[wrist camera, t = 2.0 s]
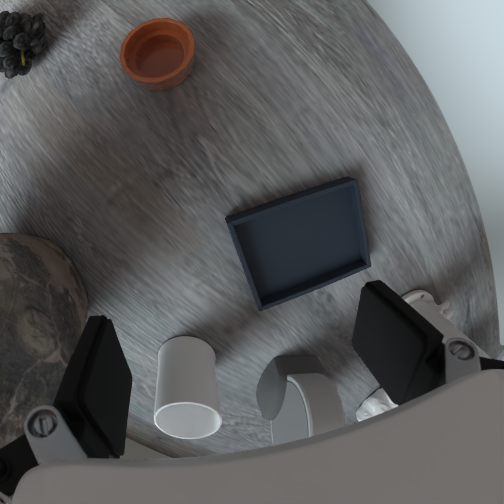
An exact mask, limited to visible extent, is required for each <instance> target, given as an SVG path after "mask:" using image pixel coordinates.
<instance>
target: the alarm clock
mask: <svg viewBox="0 0 504 504" xmlns="http://www.w3.org/2000/svg"><path fill="white" fill-rule="evenodd" d="M257 402H258V405H259V407H260V410H261V413H262V415H263V418H264V419H266V420H271V434H272V441H273V446H274V445H279V444H283V443H287V442H292V441H296V440H300V439H304V438H308V437H311V436H315V435H319V434H322V433H325V432H329V431H332V430H335V429H338V428H342V427H345V414H344V409H343V405H342V401H341V398H340V396H339V394H338V391H337V389H336V388H335V386H334V385H333V383H332V382H331V381H330V379H328V378H327V377H326V376H324V375H323V371H322V369H321V366H320V364H319V361H318V359H317V357H316V356H279V357H275V358H274V359H273V360H272V361H271V362H270V363H269V364H268V366H267V367H266V369H265V370H264V372H263V374H262V375H261V378H260V380H259V383H258V387H257Z"/></svg>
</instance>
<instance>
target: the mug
mask: <svg viewBox="0 0 504 504" xmlns="http://www.w3.org/2000/svg"><path fill="white" fill-rule="evenodd" d="M158 362H159V364H158V374H157V384H156V395H155V408H154V422H155V424H156V426H157V427H158V428H159V429H160V430H161V431H163V432H164V433H166V434H168V435H171V436H174V437H178V438H184V439H196V438H202V437H206V436H209V435H211V434H213V433H214V432H216V431H217V430H218V429H219V428H220V426H221V424H222V417H221V410H220V402H219V395H218V387H217V379H216V371H215V362H216V356H215V353H214V351H213V349H212V348H211V346H210V345H209V344H207V343H206V342H205V341H203V340H201V339H198V338H195V337H190V336H180V337H175V338H172V339H170V340H168V341H166V342H165V343H164V344H163V345H162V346H161V348H160V349H159V352H158Z"/></svg>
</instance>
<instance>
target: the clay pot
mask: <svg viewBox="0 0 504 504" xmlns="http://www.w3.org/2000/svg"><path fill="white" fill-rule="evenodd" d="M87 308H88V298H87V294H86V290H85V286H84V285H83V282H82V280H81V278H80V276H79V274H78V271H77V269H76V267H75V266H74V264H73V263H72V261H71V260H70V259H69V257H68V256H67V255H66V253H65V252H64V251H63V249H61V248H60V247H59V246H57V245H55V244H54V243H53V242H51V241H50V240H48V239H45V238H41V237H37V236H32V235H30V234H18V233H0V448H2V447H4V446H5V445H7V444H9V443H10V442H12V441H14V440H15V439H17V438H18V437H20V436H22V435H23V434H25V432H24V427H23V426H24V420H25V418H26V416H27V414H28V413H29V412H30V411H31V410H33V409H34V408H35V407H38V406H41V405H49V406H53V403H54V400H55V397H56V395H57V392H58V389H59V386H60V384H61V381H62V378H63V376H64V373H65V370H66V368H67V365H68V363H69V360H70V358H71V356H72V354H73V353H74V351H75V348H76V346H77V343H78V341H79V339H80V337H81V334H82V332H83V330H84V328H85V325H86V316H87Z"/></svg>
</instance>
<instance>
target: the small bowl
mask: <svg viewBox="0 0 504 504" xmlns="http://www.w3.org/2000/svg"><path fill="white" fill-rule="evenodd" d="M120 61H121V65H122V68H123V70H124V71H125V72H126V73H127V74H128V75H129V76H130V77H131V78H132V79H133V80H134V81H135V82H136V83H137V84H138V85H139V86H141V87H143V88H146V89H149V90H152V91H158V90H167V89H169V88H172V87H175V86H177V85H178V84H180V83H181V82H182V81H183V80H185V79H186V78H187V77H188V75H189V74H190V72H191V70H192V69H193V67H194V61H195V41H194V38H193V35H192V32H191V30H190V29H188V28H187V27H186V26H185V25H184V24H183V23H182V22H179V21H176V20H173V19H170V18H158V19H152V20H150V21H147V22H144V23H142V24H140V25H139V26H137V27H136V28H135V29H134V30H132V31H131V32H130V33H129V34H128V36H127V37H126V39H125V40H124V42H123V43H122V46H121V51H120Z"/></svg>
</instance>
